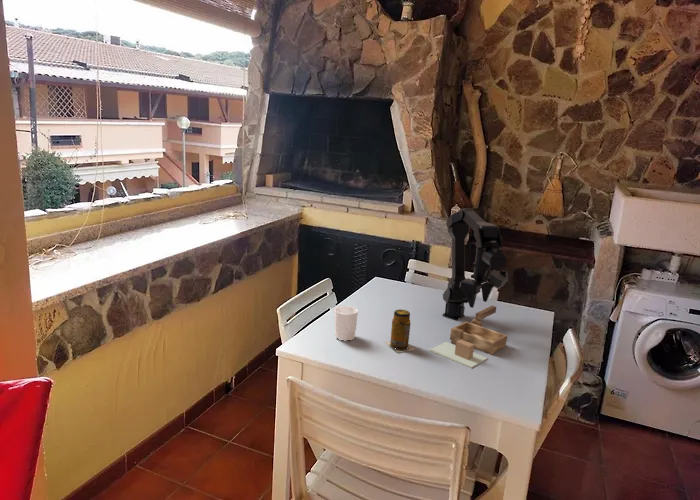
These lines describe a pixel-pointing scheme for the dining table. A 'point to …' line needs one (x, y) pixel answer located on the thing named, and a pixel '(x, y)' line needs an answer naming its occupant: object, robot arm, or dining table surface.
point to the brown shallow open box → (478, 336)
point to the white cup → (345, 322)
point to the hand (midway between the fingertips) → (478, 304)
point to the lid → (459, 353)
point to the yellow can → (400, 331)
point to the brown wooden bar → (485, 312)
